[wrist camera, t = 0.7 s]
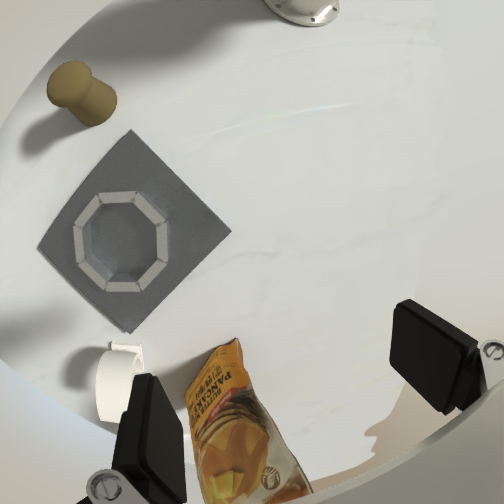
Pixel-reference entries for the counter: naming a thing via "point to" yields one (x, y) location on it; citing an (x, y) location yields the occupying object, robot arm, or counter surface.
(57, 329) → the counter surface
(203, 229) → the plate
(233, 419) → the pancake mix bag
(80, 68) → the cork
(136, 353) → the headphone stand
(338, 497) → the robot arm
